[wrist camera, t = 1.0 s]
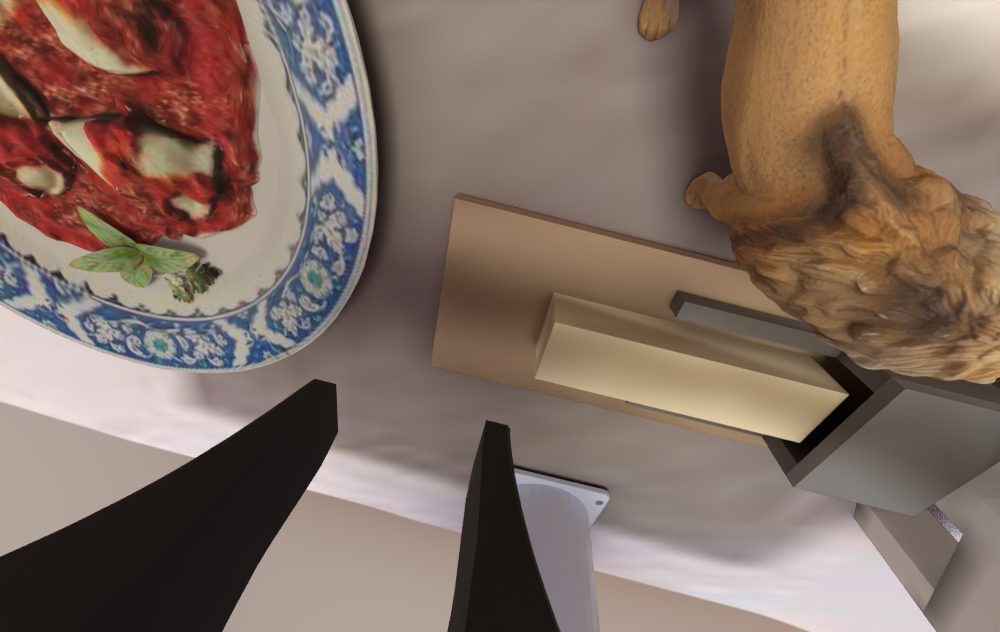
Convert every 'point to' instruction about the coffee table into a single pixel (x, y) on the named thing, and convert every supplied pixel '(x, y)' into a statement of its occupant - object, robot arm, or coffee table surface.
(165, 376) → the coffee table surface
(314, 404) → the robot arm
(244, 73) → the ceramic plate
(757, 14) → the lion figurine
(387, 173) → the coffee table surface
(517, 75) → the coffee table surface
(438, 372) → the coffee table surface
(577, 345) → the slat
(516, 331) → the cradle
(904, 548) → the toy llama
